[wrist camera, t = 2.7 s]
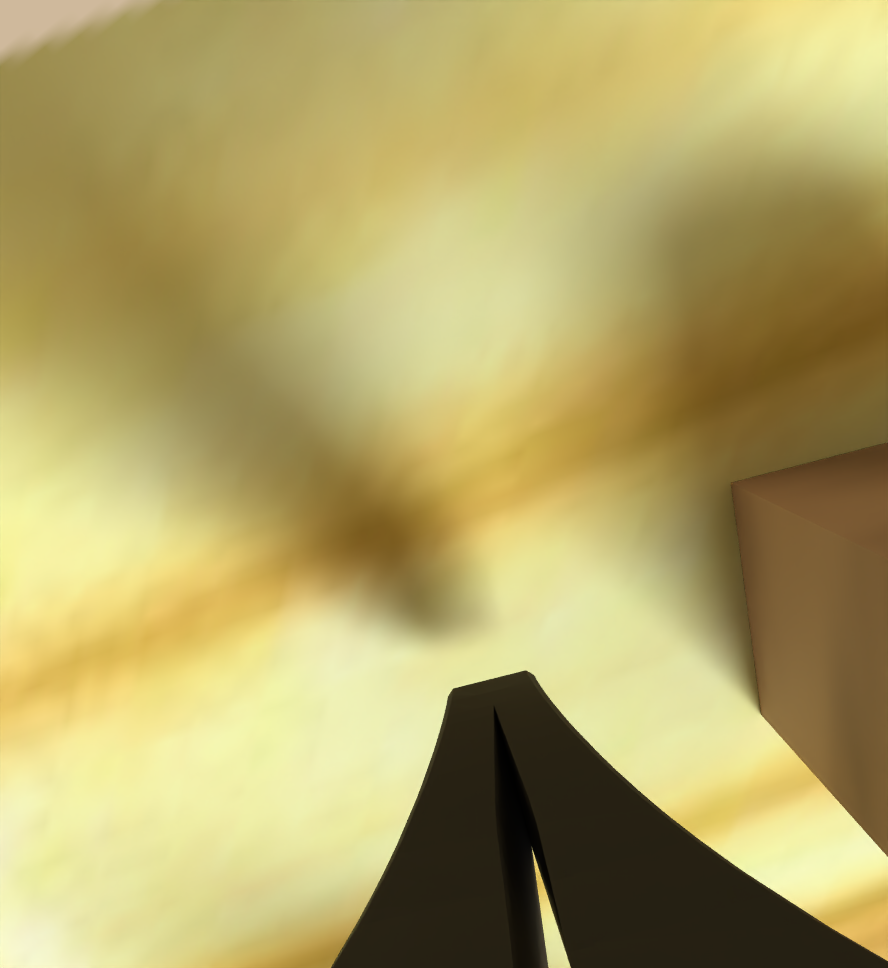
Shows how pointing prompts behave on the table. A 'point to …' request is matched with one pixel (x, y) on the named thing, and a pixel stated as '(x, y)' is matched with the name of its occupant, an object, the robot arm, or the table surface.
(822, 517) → the walnut cube
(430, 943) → the robot arm
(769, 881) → the table surface
